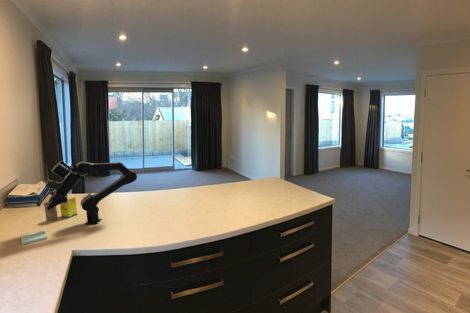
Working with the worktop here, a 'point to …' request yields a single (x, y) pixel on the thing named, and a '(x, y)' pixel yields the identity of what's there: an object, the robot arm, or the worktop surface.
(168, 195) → the worktop surface
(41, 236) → the sage green board
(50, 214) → the walnut canister
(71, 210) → the supplement box
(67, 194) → the robot arm
